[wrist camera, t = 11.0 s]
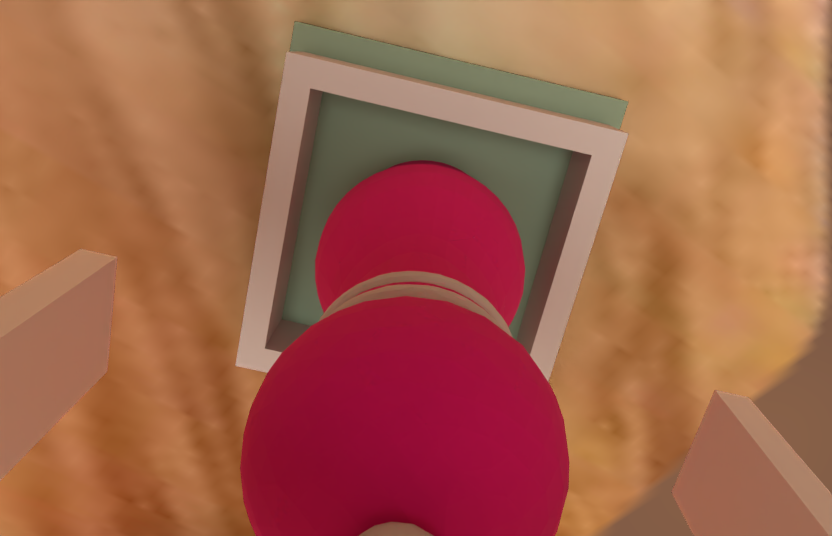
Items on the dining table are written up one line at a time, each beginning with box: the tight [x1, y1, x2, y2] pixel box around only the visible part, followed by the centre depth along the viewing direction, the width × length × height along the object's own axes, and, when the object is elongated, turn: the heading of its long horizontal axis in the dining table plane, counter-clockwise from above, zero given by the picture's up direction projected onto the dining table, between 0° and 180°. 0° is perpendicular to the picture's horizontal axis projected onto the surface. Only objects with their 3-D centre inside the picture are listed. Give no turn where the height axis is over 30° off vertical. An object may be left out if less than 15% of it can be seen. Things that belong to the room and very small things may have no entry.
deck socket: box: [236, 21, 629, 382], centre depth 27 cm, size 14×13×4 cm
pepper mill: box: [240, 160, 569, 536], centre depth 18 cm, size 7×7×20 cm
